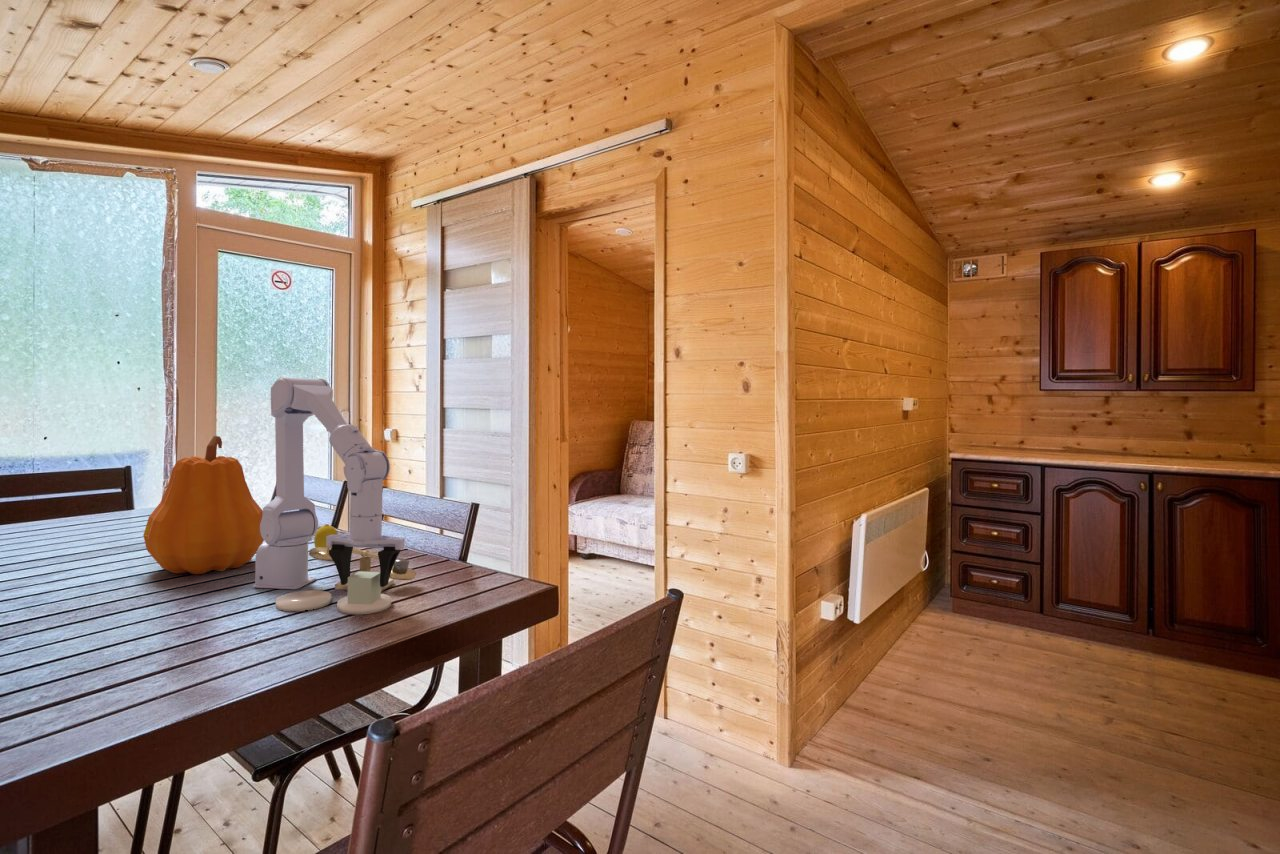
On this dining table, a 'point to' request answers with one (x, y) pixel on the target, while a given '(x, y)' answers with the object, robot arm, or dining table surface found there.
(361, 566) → the balance stand
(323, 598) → the dish left
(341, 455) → the robot arm
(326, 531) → the lemon
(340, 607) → the dish right
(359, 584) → the block
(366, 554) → the balance beam
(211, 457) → the decorative pumpkin
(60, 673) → the dining table surface
